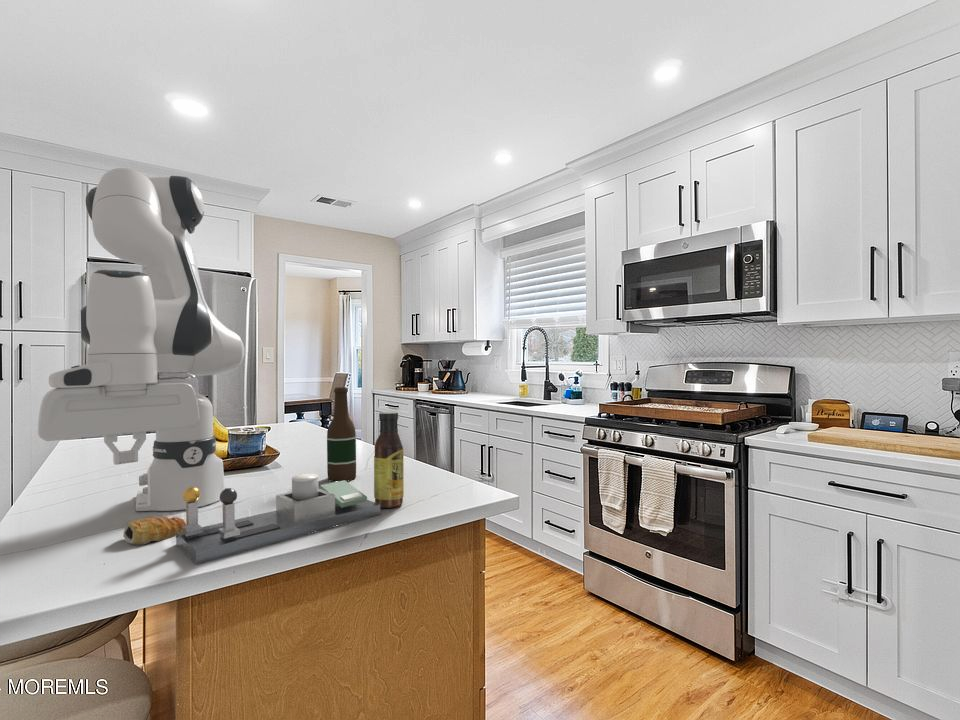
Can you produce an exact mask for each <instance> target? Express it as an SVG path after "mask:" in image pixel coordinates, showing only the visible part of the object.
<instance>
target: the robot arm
mask: <svg viewBox="0 0 960 720" xmlns="http://www.w3.org/2000/svg"><path fill="white" fill-rule="evenodd" d="M85 207H86V210H87V213H88V217H89V218H90V220H91V223H92V231H93V235H94V237H95V239H96V241H97V242H98V244H99V245H100V246H101V247H102V248H103V249H104V250H106V251H107V252H108V253H109V254H111V255H113V256H114V257H115V258H118V259H120V260H123V261H125V262H128V263H132V264H135V265H139V266H141V272H140V271H132V270H131V271H130V270H127V271H126V270H117V269H116V270H115V269H99V270H96V271H94V272H92V273H90V274H91V275H90V278H89V282H88V289H87V296H86V305H85V306H84V307H82V308H81V309H80V337H81V339H82V341H83V342H85V343H86V344H88V348H87V352H86V361H87V362H86V363H85V364H82V365H79V364H78V365H74V366H71V367H70V368H67V369H63V370H59V371H55V372H53V373H51V374H49V376H48V384H49V386H50V387H51V388H53V389H50V390H49V391H48V392H46V393H45V394H44V396H43V398H42V400H41V403H40V407H39V414H38V422H37V435H38V437H39V438H40V439H42V440H43V441H45V442H54V441H64V440H73V439H83V438H84V439H85V438H95V437H103V443H104V444H105V445H106V446H107V448H109V450H110V452H111V453H112V454H113V455H112V461H113V464H114V465H116V466H117V465H123V464H132V463H138V462H139V451H140V449H141V448H142V446H143V444H144V443H145V442H146V440H147V432H155V440H154V441H153V445H152V457H153V459H152V462H151V464H150V465H149V467H148V469H147V473H143V474H141V475H139V476H138V486H139V487H143V486H147V487H143V488H142V490H141V491H137V492H136V498H135V499H136V500H135V501H136V502H135V511H136V512H145V511H146V512H147V511H148V512H149V511H158V512H160V511H161V512H165V511H167V512H168V511H169V512H170V511H171V512H172V511H180V510H186V501H185V500H184V499H183V493H184V491H185V490H186V489H187V488H189V487H196V488H198V489H199V490H200V493H201V495H200V498H199V499H198V500H197V502H198V508H199V507H203V506H208V505H210V504H214V503H216V502H218V501H220V493H221V492H222V491H223V490H224V489H227V488H228V487H226V485H225V475H224V461H223V459H222V458H221V457H219V456H217V455H216V453H215V452H216V451H217V447H216V446H217V441H216V436H215V435H214V410H213V409H214V407H213V404H212V402H211V401H210V400H209V398H208V397H206V396H205V395H203V394H201V393H199V390H200V389H199V387H200V386H199V384H200V383H199V380H198V378H197V376H217V375H221V374H226V373H229V372H234V371H236V370H237V369H239V367H240V366H241V364H243V360H244V357H245V346H244V343H243V340H242V338H241V337H240V335H238V334H237V332H235V331H233V330H231V329H230V328H228V327H227V326H225V324H223V323H222V322H221V321H220V320H219V319H218V318H217V317H216V315H215V314H214V313H213V311H212V310H211V308H210V307H209V306H208V303H207V301H206V299H205V296H204V291H203V287H202V283H201V279H200V273H199V268H198V263H197V260H196V254H195V251H194V250H193V249H194V248H193V247H192V244H191V242H190V239H189V237H188V236H187V234H186V231H187V232H188V234H190V235H191V234H194V233H195V229H196V227H197V226H198V225H199V224H200V223H201V221H202V220H203V217H204V215H205V211H204V209H205V201H204V197H203V195H202V192H201V191H200V190H199V188H198V186H197V185H196V183H195V182H194V181H193V180H191V178H189V177H187V176H181V175H170V176H167V177H166V176H163V177H162V176H161V177H160V176H158V177H157V176H156V177H155V176H154V177H153V176H152V177H147V176H146V175H145V174H144V173H142V172H140V171H138V170H136V169H131V168H128V167H118V168H112V169H110V170H108V171H106V172H105V173H104V174H103V175H102V177H101V178H100V180H99V182H98V184H97V185H96V186H95V187H93V188H90V190H89V192H88V193H87V194H86V195H85ZM189 377H190V378H189ZM125 434H132V438H133V439H134V440H136V441H135V442H134V444H132V447H131V448H130V450H121V451H120V450H119V448H118V447H117V446H116V445H115V444H114V443H117V442H118V435H125Z"/></svg>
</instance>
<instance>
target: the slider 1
mask: <svg viewBox="0 0 960 720" xmlns="http://www.w3.org/2000/svg"><path fill="white" fill-rule="evenodd" d="M200 495H201V493H200V490H199V489H198V488H196V487H189V488H187V489H186V490H185V491H184V493H183V499H184V500H185V501H186V509H185V517H186V520H185V523H186V526H184V527H182V532H183V533H184V534H185V535H186V536H191V535H196V534H200V533H203V528H202V527H203V526H201V525H200V524H199V507H198V502H197V500H198V499H199V498H200Z"/></svg>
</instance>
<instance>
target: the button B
mask: <svg viewBox="0 0 960 720" xmlns="http://www.w3.org/2000/svg"><path fill="white" fill-rule="evenodd" d="M318 488H319V475H318V474H317V473H303V474H297V475H293V476H292V477H291V492H292V499H293V500H296V501H301V500H305V499H310V498H314V497H319V489H320V488H319V489H318Z"/></svg>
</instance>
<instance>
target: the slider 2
mask: <svg viewBox="0 0 960 720" xmlns="http://www.w3.org/2000/svg"><path fill="white" fill-rule="evenodd" d="M226 488H227V489H224V490H223V491H222V492H221V493H220V500H219V501H220V502H221V503H222V523H223V528H219V529H218V534H219V535H220V536H222V537H223V538H228V537H232V536H237V535H240V529H238V528H236V527H235V520H236V519H235V511H236V510H235V509H236V508H235V507H236V506H235V501H236V500H237V498H238V493H237V491H236V490H235V489H234V488H232V487H226Z"/></svg>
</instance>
